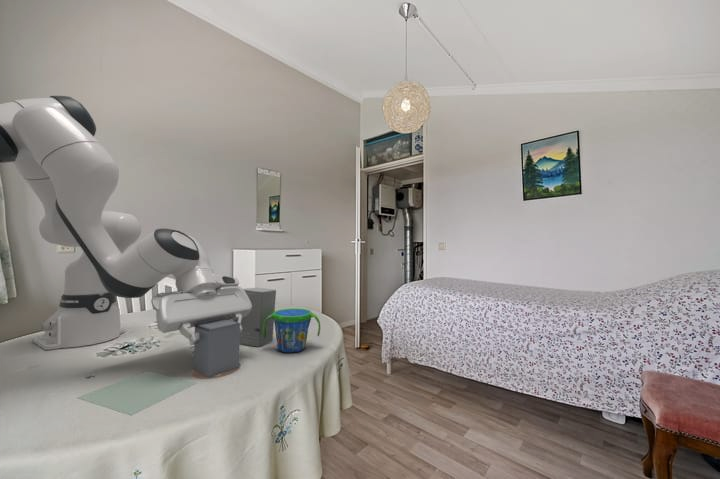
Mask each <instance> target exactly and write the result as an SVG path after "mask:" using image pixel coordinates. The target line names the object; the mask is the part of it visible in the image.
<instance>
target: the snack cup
mask: <svg viewBox="0 0 720 479" xmlns="http://www.w3.org/2000/svg"><path fill="white" fill-rule="evenodd" d="M269 318H273V319H274V330H275V331H274V332H275V338H276V346H277V349H278V351H280V352H282V353H294V352H296V353H297V352H298V353H299V352H300V351H303V350H304V349H305V348H306V346H307V345H306V344H307V339H308V333H309V327H310V324H311V320H312V318H314V319H315V320H316V322H317V323H318V330H317V337H320V334H321V321H320V319H319V317H318V316H317V315H316V314H315V313H313V312H312V311H311V310H309V309H306V308H305V309H304V308H283V309H279V310H276V311H275V312H274V313H273V314H271V315H270V316H268V317H267V318H266V320H265V322H264V324H263V337H264V338H266V322H267V320H268V319H269Z"/></svg>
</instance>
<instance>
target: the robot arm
mask: <svg viewBox="0 0 720 479" xmlns="http://www.w3.org/2000/svg"><path fill="white" fill-rule="evenodd" d="M96 133H97V126H96V124H95V121H94V118H93V117H92V115H91V113H90V112H89V111H88V109H87V108H86V107H85V106H84V105H83V104H82V103H81V102H79V100H76V99H75V98H74V97H71V96H66V95H50V96H49V97H34V98H22V99H15V100H12V101H10V102H9V101H8V102H5V103H4V102H2V103H0V164H2V163H3V164H4V163H13V165H14V166H15V168H16V169H17V171H18V172H19V174H20V175H21V177H22V178H23V179H24V180H25V182H26V183H27V184H28V185H29V187H30V189H32V191H33V192H34V194H35V195H36V196H37V198H38V199H39V200H40V202H41V204H42V207H43V210H44V216H43V218H41V221H40V222H39V227H38V230H39V233H40V235H41V238H43V239H44V240H45V241H46V242H47V243H50V244H54V245H58V246H63V247H75V248H76V247H78V248H79V247H80V248H81V250H82V254H81V255H80V257H79V258H78V259H76V260H74V261H73V262H71V263H69V264H68V265H67V266H66V268H65V270H64V287H63V288H64V290H63V291H64V292H63V294H62V295H60V297H61V298H60V300H59V304H58V306H59V309H58V310H56V311H55V312H54V313H53V314H52V315H51V316H50V317H49V318H47V319H46V320H45V322H43V323H41V324H40V325H41V326H40V330H41V331H42V332H44V334H42V335H38V336H34V337H33V339H32V343H35V344H36V345H37V346H39V347H40V348H42V350H45V351H49V350H55V349H56V350H57V349H62V348H63V349H64V348H77V347H83V346H91V345H95V344H100V343H104V342H108V341H112V340H113V339H117V338H118V337H120V335H121V334H123V333H125V328H122V326H121V325H122V324H121V311H120V307H119V306H117V305H116V304H115V303H116V302H117V297H118V298H123V299H124V298H125V299H135V298H136V299H138V298H141V297H143V296H145V295H146V294H147V293H148V292H149V291H151V290H152V289H153V288H154V287H155V286H156V285H157V284H158V283H160V282H161V281H162V280H164V279H166V278H167V277H168V276H169V275H172V277H174V279H175V288H176V289H177V290H176V291H175V290H174V291H169V292H160V293H157V294H156V295H154V296H153V297H152V298H151V301H150V302H151V306H152V308H153V309H154V311H155V312H156V313H155V314H156V315H155V318H156V325H157V329H158V331H159V332H162V333H163V334H167V333H171V332H175V331H179V332H180V335H182V336H183V337H185V338H186V339H188V341H189V343H190V344H189V345H191V346H194V344H198V343H199V342H200V340H201V338H200V336H199V332H198V333H195V331H193V330H192V328H195V324H198V323H204V322H209V321H214V320H219V319H228V320H232V321H235V322H238V323H241V319H242V317H246V316H247V315H248V314H249V312H250V311H251V308H252V304H251V301H250V299H249V297H248V296H247V294H246V292H245V291H244V290H243V289H244V288H242V287H241V286H239V283H240V280H239V279H238V278H237V277H234V276H233V277H232V276H229V275H228V276H226V275H222V274H219V273H215V271H214V269H213V268H211V262H210V259H209V257H208V255H207V252H206V251H205V250H204V248H203V247H202V244H201V243H200V241H198V240H197V239H196V238H195V237H194V236H192V235H189V234H185V233H184V232H182V231H180V230H176V229H171V228H157V229H155V230H154V231H152V232H150V233H149V234H148V235H146V236H144V237H143V238H142V239H140V240H139V238H140V236H141V234H142V225H141V223H140V221H139V220H138V218H137V217H136V216H135V215H133V214H130V213H126V212H121V211H116V210H104V208H105V206H106V204H107V202H108V200H109V199H110V198H111V196H112V194H113V193H114V191H115V189H116V188H117V185H118V183H119V178H120V172H119V167H118V165H117V163H116V161H115V159H114V158H113V157H112V155H111V154H110V153H109V152H108V150H106V148H104V146H103V145H102V144H101V143H100V142H99V140H97V139H96V137H95V136H96ZM138 240H139V241H138ZM136 242H137V243H136ZM134 243H135V244H134ZM133 244H134V245H133ZM130 246H131V247H130ZM241 332H242V327H241V324H240V333H241Z"/></svg>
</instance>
